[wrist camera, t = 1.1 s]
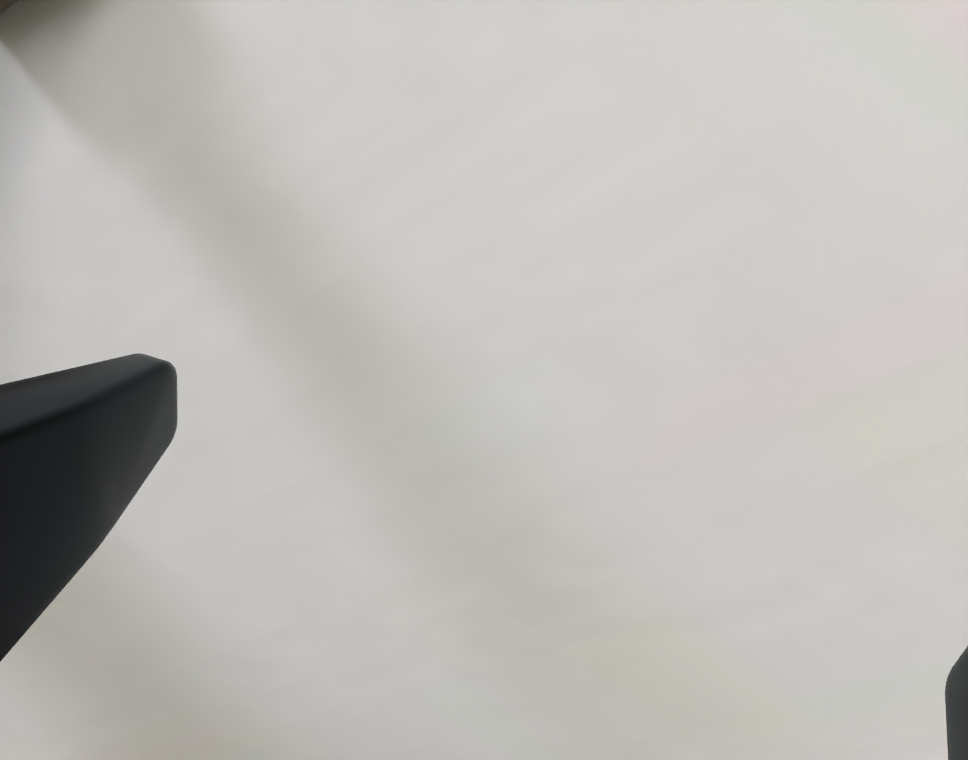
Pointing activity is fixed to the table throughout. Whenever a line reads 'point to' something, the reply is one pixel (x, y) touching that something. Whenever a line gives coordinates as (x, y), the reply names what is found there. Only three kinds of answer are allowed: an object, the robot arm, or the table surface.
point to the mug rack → (5, 4)
